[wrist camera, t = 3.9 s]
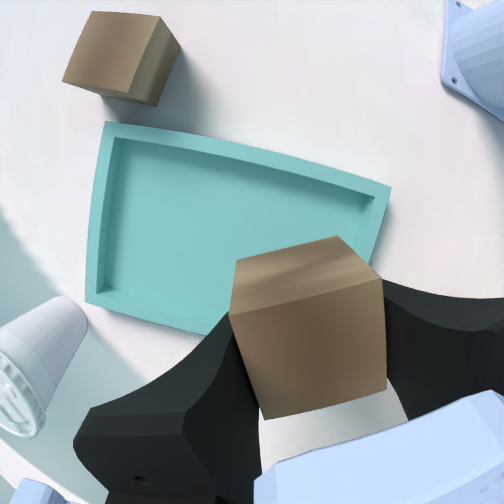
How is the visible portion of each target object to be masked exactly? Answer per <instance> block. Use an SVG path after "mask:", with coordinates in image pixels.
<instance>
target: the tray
mask: <svg viewBox="0 0 504 504" xmlns="http://www.w3.org/2000/svg"><path fill="white" fill-rule="evenodd" d="M391 188H392V187H390V186H387V185H384V184H381V183H378V182H375V181H372V180H369V179H366V178H363V177H360V176H357V175H354V174H351V173H348V172H344V171H341V170H338V169H335V168H331V167H328V166H324V165H321V164H318V163H314V162H311V161H307V160H303V159H300V158H296V157H292V156H288V155H285V154H281V153H277V152H273V151H269V150H265V149H261V148H256V147H252V146H248V145H243V144H239V143H234V142H230V141H225V140H220V139H215V138H210V137H205V136H200V135H195V134H189V133H184V132H178V131H172V130H166V129H160V128H153V127H146V126H139V125H132V124H124V123H116V122H107V121H105V124H104V128H103V133H102V138H101V143H100V148H99V154H98V159H97V165H96V171H95V178H94V184H93V192H92V199H91V208H90V217H89V227H88V239H87V254H86V277H85V302H87V303H90V304H93V305H96V306H99V307H102V308H106V309H109V310H112V311H116V312H119V313H122V314H126V315H129V316H133V317H136V318H140V319H143V320H147V321H151V322H154V323H158V324H162V325H166V326H170V327H173V328H177V329H181V330H186V331H190V332H194V333H198V334H202V335H208V334H209V333H210V331H211V330H212V329H213V328H214V327H215V326H216V324H217V323H218V322H219V321H220V320H221V318H222V317H223V316H224V315H225V314H226V313H227V312H228V311H229V308H230V301H231V294H232V287H233V280H234V274H235V267H236V260H238V259H242V258H247V257H251V256H255V255H259V254H263V253H267V252H271V251H275V250H280V249H284V248H288V247H292V246H296V245H300V244H304V243H308V242H312V241H316V240H320V239H325V238H329V237H333V236H337V235H338V236H339V237H340V238H341V239H342V240H343V241H344V242H345V243H346V244H347V245H349V246H350V247H351V248H352V249H353V250H354V251H355V252H356V253H357V254H358V255H359V256H360V257H361V258H362V259H363V260H364V261H365V262H366V263H367V264H368V263H369V260H370V257H371V254H372V251H373V248H374V245H375V242H376V239H377V236H378V233H379V229H380V226H381V223H382V219H383V216H384V213H385V209H386V206H387V202H388V199H389V195H390V191H391Z"/></svg>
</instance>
